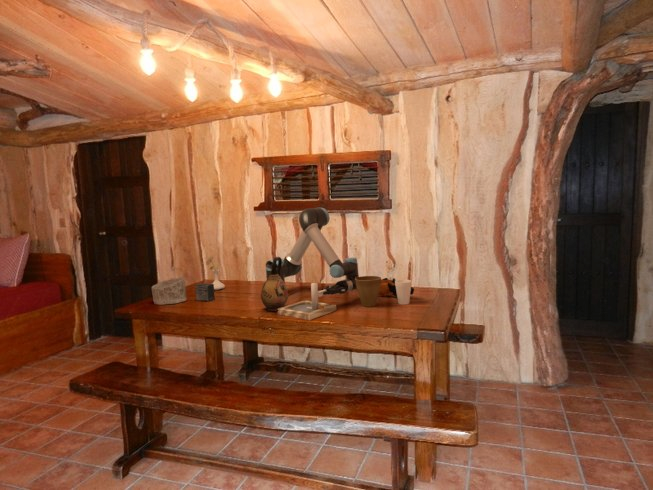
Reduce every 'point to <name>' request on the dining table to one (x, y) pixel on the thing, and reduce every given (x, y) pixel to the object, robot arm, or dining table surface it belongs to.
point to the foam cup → (403, 291)
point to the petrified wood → (169, 291)
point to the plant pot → (368, 289)
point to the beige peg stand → (314, 305)
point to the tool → (389, 288)
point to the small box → (204, 292)
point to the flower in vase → (216, 282)
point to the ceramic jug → (274, 287)
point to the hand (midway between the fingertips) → (318, 294)
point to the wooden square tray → (321, 311)
